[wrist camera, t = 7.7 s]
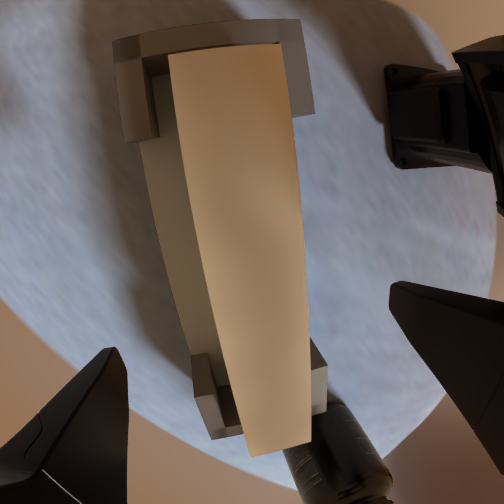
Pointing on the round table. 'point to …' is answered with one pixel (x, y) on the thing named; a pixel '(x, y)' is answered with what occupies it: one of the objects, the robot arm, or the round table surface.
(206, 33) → the slat rail
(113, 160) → the round table surface
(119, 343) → the round table surface
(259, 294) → the slat
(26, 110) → the round table surface
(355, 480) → the supplement bottle
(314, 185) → the round table surface
